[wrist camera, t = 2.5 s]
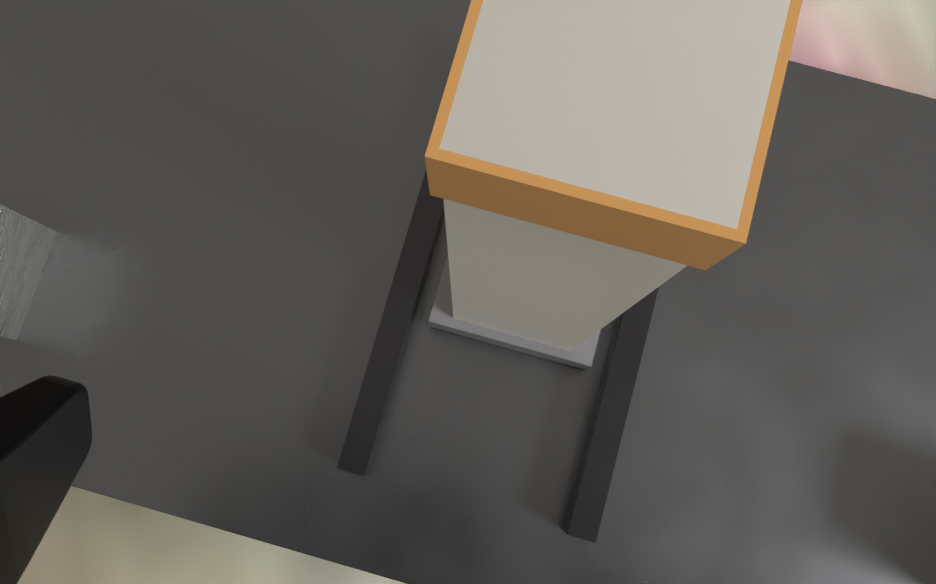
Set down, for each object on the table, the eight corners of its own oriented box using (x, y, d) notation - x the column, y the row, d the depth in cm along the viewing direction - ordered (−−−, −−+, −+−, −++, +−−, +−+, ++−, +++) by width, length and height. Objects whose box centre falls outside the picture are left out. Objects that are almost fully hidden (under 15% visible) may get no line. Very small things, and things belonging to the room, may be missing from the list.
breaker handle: (584, 369, 19) (789, 268, 7) (430, 326, 19) (376, 155, 7) (616, 244, 19) (860, -53, 8) (466, 202, 20) (470, -152, 8)
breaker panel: (1056, 759, 19) (1261, 873, 14) (-140, 412, 20) (-333, 405, 15) (1145, 185, 21) (1349, 112, 16) (61, -101, 23) (-51, -250, 18)
